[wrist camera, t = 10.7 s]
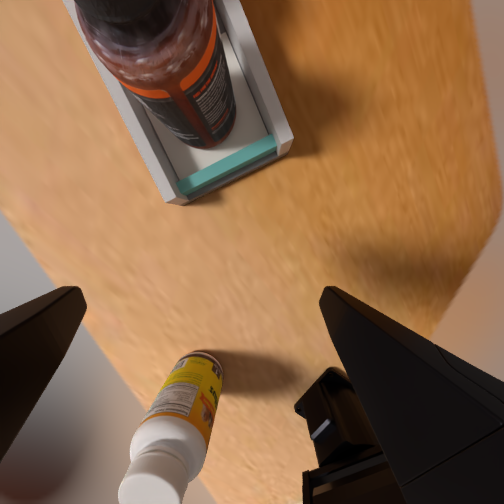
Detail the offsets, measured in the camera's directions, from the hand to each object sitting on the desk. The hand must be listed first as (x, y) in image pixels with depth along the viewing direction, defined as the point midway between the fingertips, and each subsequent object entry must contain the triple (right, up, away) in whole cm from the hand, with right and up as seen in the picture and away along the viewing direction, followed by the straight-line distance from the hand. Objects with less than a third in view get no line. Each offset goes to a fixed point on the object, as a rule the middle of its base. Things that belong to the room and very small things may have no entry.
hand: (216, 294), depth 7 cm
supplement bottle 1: (-3, +14, +9) cm, 17 cm away
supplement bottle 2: (-4, -12, +14) cm, 19 cm away
